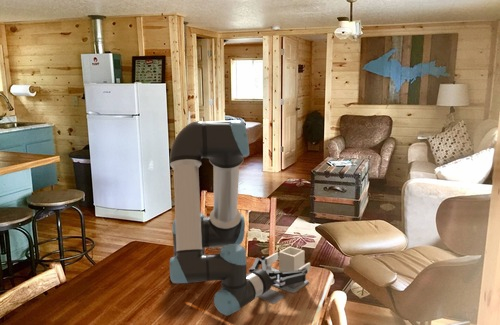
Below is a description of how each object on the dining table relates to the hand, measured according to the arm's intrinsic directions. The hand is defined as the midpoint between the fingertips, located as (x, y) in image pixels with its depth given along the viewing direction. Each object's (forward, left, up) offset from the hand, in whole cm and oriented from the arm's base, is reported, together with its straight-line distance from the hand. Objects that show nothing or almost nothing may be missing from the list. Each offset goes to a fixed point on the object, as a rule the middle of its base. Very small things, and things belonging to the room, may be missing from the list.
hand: (292, 260), depth 147 cm
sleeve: (0, -1, -8) cm, 8 cm away
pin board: (-5, 0, -9) cm, 11 cm away
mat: (-2, -11, -9) cm, 15 cm away
